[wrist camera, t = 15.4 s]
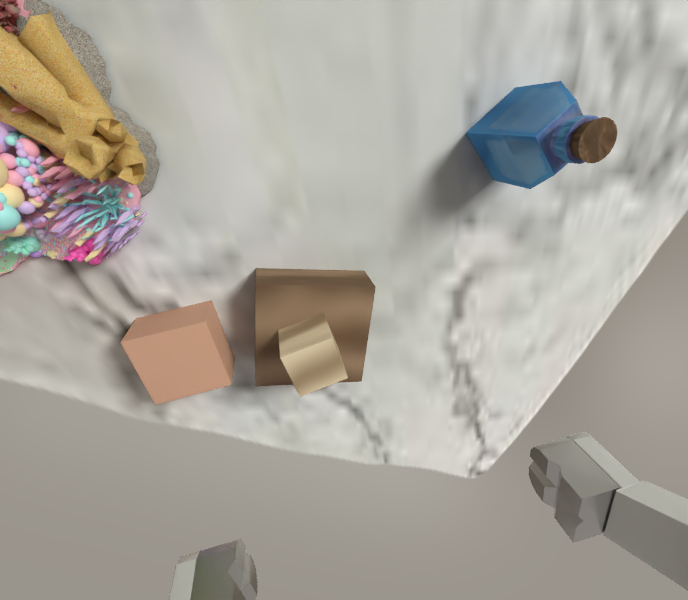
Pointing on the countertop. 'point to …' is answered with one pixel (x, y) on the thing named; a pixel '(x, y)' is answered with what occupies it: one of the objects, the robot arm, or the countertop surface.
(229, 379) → the terracotta block
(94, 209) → the candy landscape model
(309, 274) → the walnut block
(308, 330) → the maple cube
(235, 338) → the countertop surface
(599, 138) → the perfume bottle
